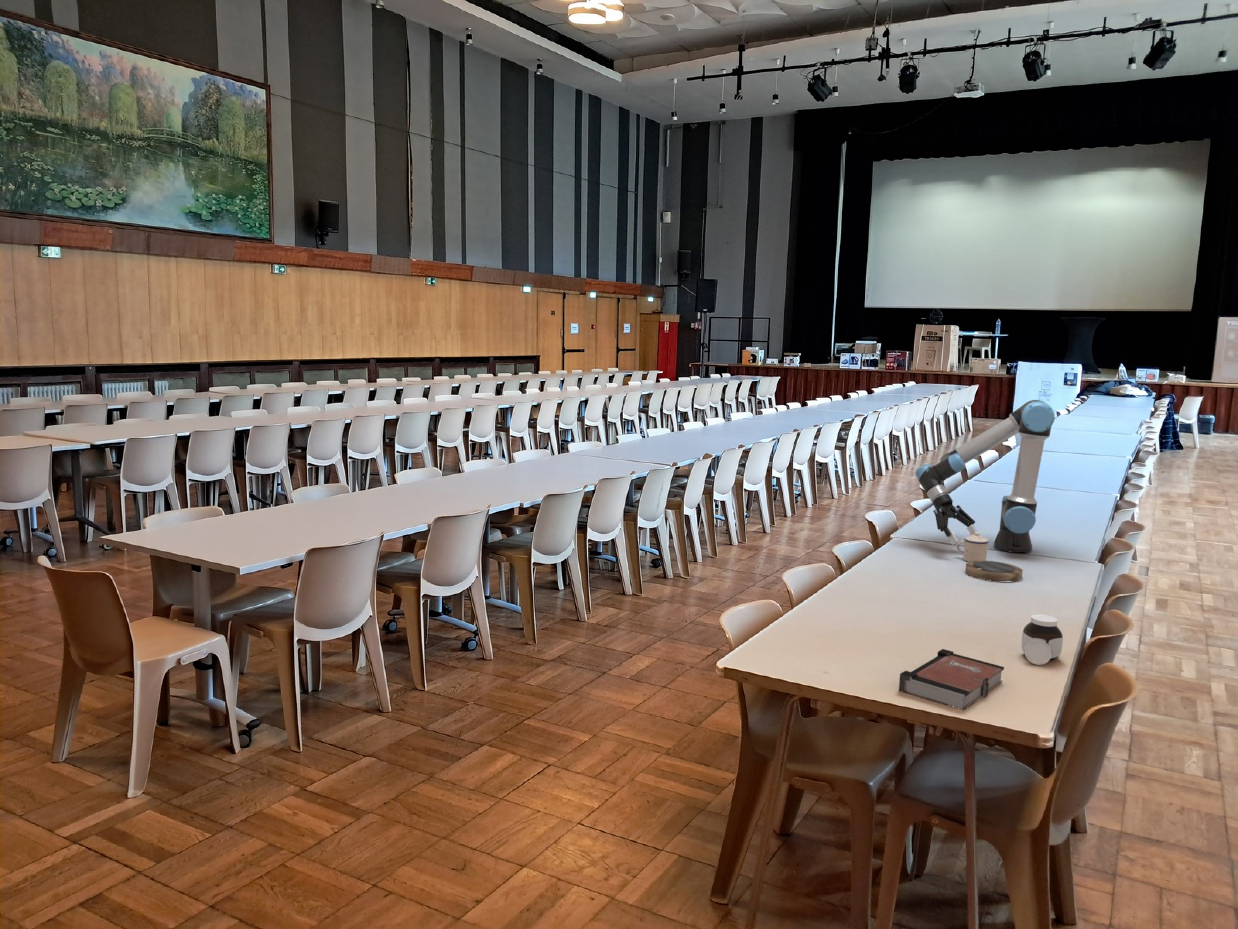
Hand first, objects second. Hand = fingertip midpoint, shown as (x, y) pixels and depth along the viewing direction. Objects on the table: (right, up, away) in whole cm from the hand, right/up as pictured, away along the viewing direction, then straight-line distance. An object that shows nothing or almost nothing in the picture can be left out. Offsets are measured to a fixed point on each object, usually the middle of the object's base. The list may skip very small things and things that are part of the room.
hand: (966, 541), depth 366 cm
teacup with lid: (+2, -8, 0) cm, 8 cm away
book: (-54, -27, -131) cm, 145 cm away
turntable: (+2, -11, -22) cm, 25 cm away
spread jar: (-22, -24, -110) cm, 115 cm away
